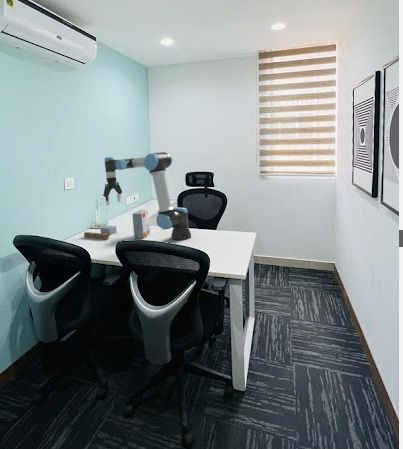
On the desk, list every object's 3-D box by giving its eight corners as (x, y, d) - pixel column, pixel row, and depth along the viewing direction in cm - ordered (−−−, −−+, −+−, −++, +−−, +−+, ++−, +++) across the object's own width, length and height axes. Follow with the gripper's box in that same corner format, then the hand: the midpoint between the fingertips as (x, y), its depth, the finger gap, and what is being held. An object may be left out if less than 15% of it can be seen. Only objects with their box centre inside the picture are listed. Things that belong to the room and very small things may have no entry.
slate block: (116, 233, 279) (116, 226, 277) (110, 235, 272) (109, 228, 271) (107, 232, 284) (107, 225, 282) (101, 234, 277) (100, 227, 275)
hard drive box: (143, 239, 255) (141, 213, 250) (134, 239, 257) (131, 213, 252) (150, 233, 270) (148, 209, 265) (141, 233, 271) (139, 209, 267)
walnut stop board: (109, 239, 261) (108, 234, 260) (107, 239, 259) (106, 234, 258) (86, 236, 272) (86, 232, 271) (84, 237, 270) (83, 232, 269)
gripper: (117, 175, 277) (120, 200, 282) (96, 178, 255) (99, 206, 260) (124, 175, 273) (127, 200, 279) (104, 178, 252) (107, 206, 257)
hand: (114, 203), depth 269 cm, fingers open, 13 cm apart
